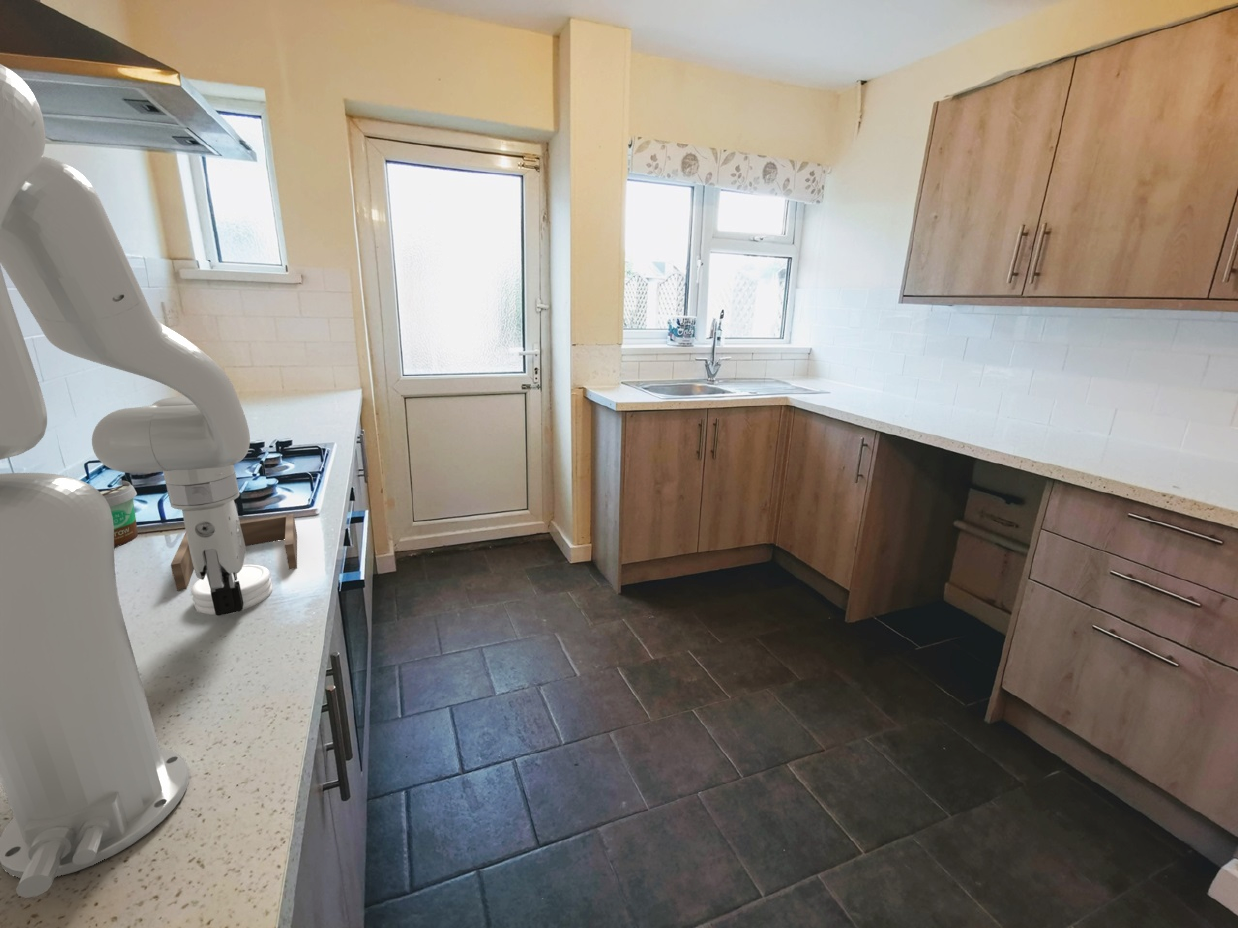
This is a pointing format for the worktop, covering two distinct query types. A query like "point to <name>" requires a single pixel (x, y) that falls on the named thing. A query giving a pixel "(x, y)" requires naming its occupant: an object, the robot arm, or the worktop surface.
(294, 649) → the worktop surface
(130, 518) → the food container
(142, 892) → the worktop surface
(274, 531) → the box
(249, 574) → the coaster
